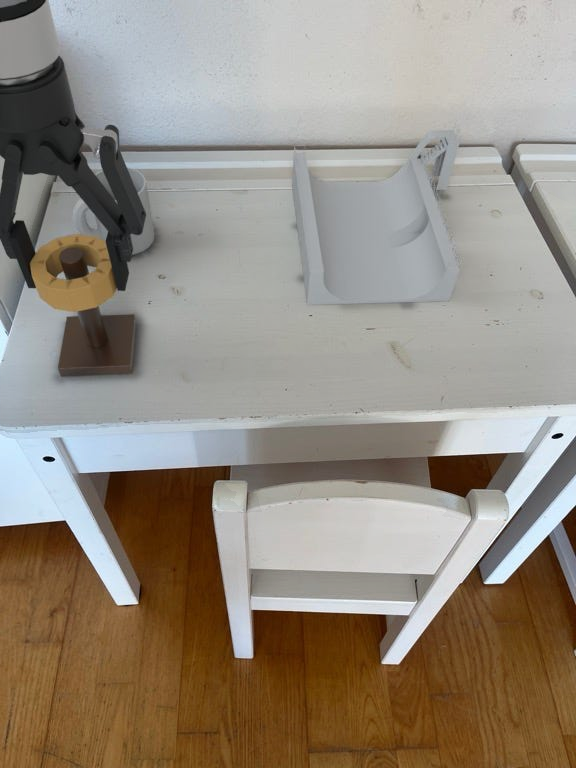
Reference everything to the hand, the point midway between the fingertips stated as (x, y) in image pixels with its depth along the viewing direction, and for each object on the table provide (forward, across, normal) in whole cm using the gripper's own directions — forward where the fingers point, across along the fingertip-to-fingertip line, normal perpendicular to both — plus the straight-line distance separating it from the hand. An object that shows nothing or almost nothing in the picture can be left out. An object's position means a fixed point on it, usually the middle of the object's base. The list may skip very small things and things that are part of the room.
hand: (79, 280), depth 66 cm
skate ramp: (+11, -35, -22) cm, 43 cm away
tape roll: (0, 0, 0) cm, 0 cm away
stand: (+11, 0, 0) cm, 11 cm away
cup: (+11, +1, -19) cm, 22 cm away
